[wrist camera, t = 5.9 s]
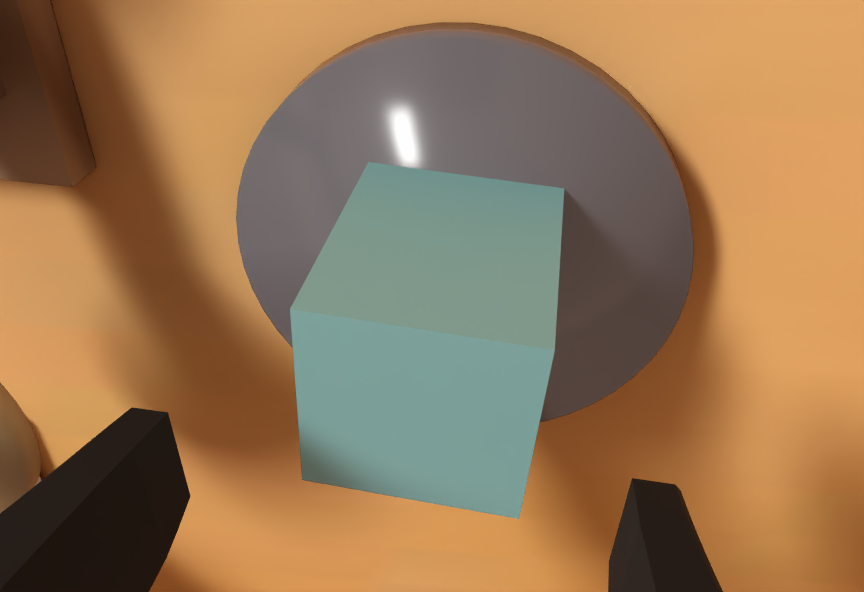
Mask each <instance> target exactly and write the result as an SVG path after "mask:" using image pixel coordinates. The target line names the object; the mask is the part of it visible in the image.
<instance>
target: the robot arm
mask: <svg viewBox="0 0 864 592" xmlns="http://www.w3.org/2000/svg"><path fill="white" fill-rule="evenodd" d="M189 498H190V493H189V490H188V486H187V482H186V478H185V475H184V471H183V467H182V463H181V460H180V456H179V452H178V449H177V445H176V441H175V437H174V434H173V430H172V426H171V422H170V419H169V415H168V413H167V412H160V411H153V410H146V409H139V408H131V409H129V410H128V411H127V412H126V413H124V414H123V415H122V416H121V417H119V418H118V419H117V420H116V421H114V422H113V423H112V424H111V425H109V426H108V427H107V428H106V429H104V430H103V431H102V432H101V433H99V434H98V435H97V436H96V437H95V438H93V439H92V440H91V441H90V442H88V443H87V444H86V445H85V446H84V447H82V448H81V449H80V450H79V451H77V452H76V453H75V454H74V455H73V456H71V457H70V458H69V459H68V460H66V461H65V462H64V463H63V464H62V465H60V466H59V467H58V468H57V469H55V470H54V471H53V472H52V473H51V474H49V475H48V476H47V477H46V478H44V479H43V480H41V478H40V476H39V478H38V481H37V483H36V484H35V486H34V487H33V488H32V489H30V490H29V491H28V492H27V493H25V494H24V495H23V496H21V497H20V498H19V499H18V500H16V501H15V502H14V503H13V504H11V505H10V506H9V507H8V508H6V509H5V510H4V511H2V512H1V513H0V592H149V590H150V588H151V586H152V584H153V583H154V581H155V579H156V577H157V575H158V573H159V571H160V569H161V567H162V565H163V563H164V561H165V559H166V558H167V555H168V553H169V550H170V548H171V545H172V543H173V540H174V538H175V536H176V533H177V531H178V528H179V525H180V523H181V520H182V517H183V515H184V512H185V509H186V506H187V504H188V501H189ZM608 592H723V591H722V589H721V587H720V585H719V582H718V580H717V578H716V576H715V574H714V571H713V569H712V567H711V565H710V562H709V560H708V558H707V556H706V553H705V551H704V549H703V547H702V544H701V542H700V539H699V537H698V535H697V532H696V530H695V527H694V525H693V522H692V520H691V517H690V515H689V512H688V509H687V507H686V504H685V501H684V499H683V496H682V493H681V491H680V490H679V488H678V487H677V486H676V485H675V484H668V483H661V482H654V481H647V480H640V479H633V478H632V481H631V485H630V488H629V492H628V495H627V499H626V503H625V506H624V510H623V513H622V517H621V520H620V524H619V528H618V531H617V535H616V538H615V542H614V545H613V549H612V553H611V556H610V560H609V587H608Z"/></svg>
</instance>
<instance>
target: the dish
mask: <svg viewBox="0 0 864 592" xmlns="http://www.w3.org/2000/svg"><path fill="white" fill-rule="evenodd" d="M368 162H372V163H379V164H387V165H394V166H401V167H409V168H416V169H424V170H431V171H438V172H446V173H453V174H461V175H468V176H476V177H483V178H490V179H498V180H505V181H513V182H520V183H528V184H535V185H542V186H550V187H557V188H564V202H563V219H562V236H561V253H560V270H559V287H558V304H557V321H556V338H555V352H554V356H553V361H552V366H551V371H550V375H549V380H548V385H547V389H546V394H545V399H544V404H543V408H542V413H541V418H540V422H543V421H548V420H551V419H554V418H557V417H561V416H564V415H567V414H570V413H573V412H575V411H577V410H580V409H582V408H584V407H587V406H589V405H591V404H594V403H595V402H597V401H599V400H601V399H602V398H604V397H606V396H608V395H609V394H611V393H613V392H614V391H616V390H617V389H618V388H620V387H621V386H622V385H624V384H625V383H626V382H628V381H629V380H630V379H632V378H633V377H634V376H635V375H636V374H637V373H638V372H639V371H640V370H641V369H643V368H644V367H645V366H646V365H647V364H648V363H649V362H650V361H651V360H652V358H653V357H654V356H655V355H656V353H657V352H658V351H659V349H660V348H661V347H662V345H663V344H664V343H665V342H666V340H667V339H668V337H669V335H670V333H671V331H672V330H673V328H674V326H675V324H676V322H677V321H678V319H679V316H680V314H681V311H682V308H683V306H684V303H685V300H686V298H687V295H688V290H689V285H690V280H691V275H692V270H693V244H694V242H693V234H692V227H691V219H690V213H689V208H688V203H687V198H686V194H685V189H684V186H683V183H682V179H681V176H680V173H679V169H678V166H677V163H676V161H675V159H674V157H673V155H672V153H671V151H670V149H669V146H668V144H667V142H666V140H665V138H664V136H663V135H662V133H661V132H660V131H659V129H658V128H657V126H656V125H655V123H654V122H653V120H652V119H651V117H650V116H649V114H648V113H647V112H646V110H645V109H644V108H643V107H642V106H641V105H640V104H639V103H638V102H637V101H636V100H635V99H634V97H633V96H632V95H631V94H630V93H629V92H628V91H627V90H626V89H625V88H624V87H623V86H621V85H620V84H619V83H618V82H617V81H615V80H614V79H613V78H612V77H610V76H609V75H608V74H607V73H605V72H604V71H603V70H602V69H601V68H599V67H598V66H596V65H594V64H593V63H591V62H589V61H588V60H586V59H584V58H583V57H581V56H579V55H578V54H576V53H574V52H573V51H571V50H569V49H566V48H564V47H562V46H560V45H557V44H555V43H553V42H550V41H548V40H546V39H543V38H541V37H538V36H535V35H531V34H528V33H524V32H521V31H517V30H513V29H510V28H506V27H499V26H492V25H485V24H478V23H431V24H424V25H416V26H408V27H404V28H400V29H396V30H393V31H389V32H385V33H382V34H378V35H375V36H373V37H370V38H368V39H366V40H363V41H361V42H359V43H357V44H354V45H352V46H350V47H348V48H346V49H344V50H343V51H341V52H339V53H338V54H336V55H335V56H333V57H331V58H330V59H328V60H327V61H325V62H324V63H322V64H321V65H320V66H318V67H317V68H316V69H315V70H314V71H313V72H312V73H310V74H309V75H308V76H307V77H306V78H305V79H303V80H302V81H301V82H300V83H299V84H298V86H297V87H296V88H295V89H294V90H293V91H292V93H291V94H290V95H289V96H288V97H287V98H286V99H285V101H284V102H283V103H282V104H281V105H280V107H279V108H278V109H277V110H276V111H275V112H274V114H273V115H272V116H271V117H270V118H269V120H268V121H267V122H266V124H265V125H264V127H263V129H262V130H261V132H260V134H259V135H258V137H257V139H256V140H255V142H254V144H253V146H252V148H251V151H250V153H249V156H248V158H247V161H246V163H245V166H244V168H243V173H242V177H241V182H240V186H239V191H238V199H237V215H236V221H237V232H238V243H239V247H240V252H241V256H242V260H243V265H244V268H245V271H246V273H247V276H248V279H249V281H250V284H251V287H252V289H253V291H254V293H255V295H256V297H257V299H258V301H259V302H260V304H261V306H262V308H263V310H264V312H265V313H266V315H267V316H268V317H269V319H270V320H271V322H272V323H273V325H274V326H275V328H276V329H277V330H278V332H279V333H280V334H281V335H282V336H283V337H284V339H285V340H286V341H287V342H288V343H289V344H290V345H291V347H292V348H293V344H292V330H291V316H290V308H291V306H292V304H293V302H294V301H295V299H296V297H297V295H298V293H299V291H300V289H301V287H302V286H303V284H304V282H305V280H306V278H307V276H308V274H309V272H310V271H311V269H312V267H313V265H314V263H315V261H316V259H317V257H318V256H319V254H320V252H321V250H322V248H323V246H324V244H325V242H326V241H327V239H328V237H329V235H330V233H331V231H332V229H333V227H334V226H335V224H336V222H337V220H338V218H339V216H340V214H341V212H342V211H343V209H344V207H345V205H346V203H347V201H348V199H349V197H350V196H351V194H352V192H353V190H354V188H355V186H356V184H357V182H358V181H359V179H360V177H361V175H362V173H363V171H364V169H365V167H366V166H367V164H368Z"/></svg>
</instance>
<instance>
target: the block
mask: <svg viewBox="0 0 864 592" xmlns="http://www.w3.org/2000/svg"><path fill="white" fill-rule="evenodd" d="M563 202H564V188H557V187H550V186H542V185H535V184H528V183H520V182H513V181H505V180H498V179H490V178H483V177H476V176H468V175H461V174H453V173H446V172H438V171H431V170H424V169H416V168H409V167H401V166H394V165H387V164H379V163H372V162H368V164H367V166H366V167H365V169H364V171H363V173H362V175H361V177H360V179H359V181H358V182H357V184H356V186H355V188H354V190H353V192H352V194H351V196H350V197H349V199H348V201H347V203H346V205H345V207H344V209H343V211H342V212H341V214H340V216H339V218H338V220H337V222H336V224H335V226H334V227H333V229H332V231H331V233H330V235H329V237H328V239H327V241H326V242H325V244H324V246H323V248H322V250H321V252H320V254H319V256H318V257H317V259H316V261H315V263H314V265H313V267H312V269H311V271H310V272H309V274H308V276H307V278H306V280H305V282H304V284H303V286H302V287H301V289H300V291H299V293H298V295H297V297H296V299H295V301H294V302H293V304H292V306H291V308H290V316H291V330H292V344H293V358H294V372H295V386H296V400H297V414H298V428H299V441H300V455H301V469H302V480H306V481H311V482H317V483H322V484H328V485H333V486H339V487H344V488H350V489H356V490H361V491H367V492H372V493H378V494H383V495H389V496H395V497H400V498H406V499H411V500H417V501H422V502H428V503H433V504H439V505H445V506H450V507H456V508H461V509H467V510H472V511H478V512H484V513H489V514H495V515H500V516H506V517H511V518H517V519H519V517H520V512H521V507H522V503H523V498H524V493H525V488H526V484H527V479H528V474H529V470H530V465H531V460H532V455H533V451H534V446H535V441H536V437H537V432H538V427H539V422H540V418H541V413H542V408H543V404H544V399H545V394H546V389H547V385H548V380H549V375H550V371H551V366H552V361H553V356H554V352H555V338H556V321H557V304H558V287H559V270H560V253H561V236H562V219H563Z"/></svg>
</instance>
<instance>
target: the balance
mask: <svg viewBox="0 0 864 592" xmlns="http://www.w3.org/2000/svg"><path fill="white" fill-rule="evenodd" d="M95 168H96V165H95V161H94V157H93V154H92V150H91V147H90V143H89V139H88V136H87V132H86V128H85V125H84V121H83V118H82V114H81V110H80V107H79V103H78V100H77V96H76V92H75V89H74V85H73V81H72V78H71V74H70V71H69V67H68V63H67V60H66V56H65V53H64V49H63V45H62V42H61V38H60V34H59V31H58V27H57V24H56V20H55V16H54V13H53V9H52V6H51V2H50V0H0V179H1V180H11V181H20V182H29V183H38V184H47V185H57V186H66V187H74V186H75V185H76V184H77V183H79V182H80V181H81V180H82V179H83V178H85V177H86V176H87V175H88V174H89V173H90V172H92V171H93V170H94V169H95ZM40 471H41V455H40V449H39V445H38V442H37V439H36V436H35V433H34V431H33V429H32V427H31V425H30V423H29V421H28V419H27V417H26V416H25V414H24V413H23V411H22V410H21V408H20V407H19V405H18V404H17V402H16V401H15V400H14V398H13V397H12V396H11V395H10V393H9V392H8V391H7V390H6V389H5V387H4V386H3V385H2V384H1V383H0V513H1V512H2V511H4V510H5V509H6V508H8V507H9V506H10V505H11V504H13V503H14V502H15V501H16V500H18V499H19V498H20V497H21V496H23V495H24V494H25V493H27V492H28V491H29V490H30V489H32V488H33V487H34V486H35V484H36V483H37V481H38V478H39V474H40Z"/></svg>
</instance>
